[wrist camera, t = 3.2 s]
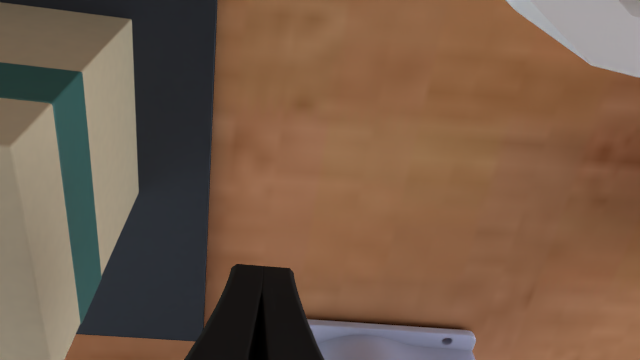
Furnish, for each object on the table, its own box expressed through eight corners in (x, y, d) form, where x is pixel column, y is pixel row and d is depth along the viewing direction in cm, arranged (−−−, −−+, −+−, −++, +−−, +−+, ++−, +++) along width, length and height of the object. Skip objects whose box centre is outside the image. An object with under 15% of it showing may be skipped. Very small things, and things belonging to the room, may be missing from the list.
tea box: (133, 17, 18) (13, 145, 10) (139, 193, 21) (55, 384, 14) (-12, -1, 17) (-254, 119, 10) (20, 182, 21) (-136, 374, 13)
